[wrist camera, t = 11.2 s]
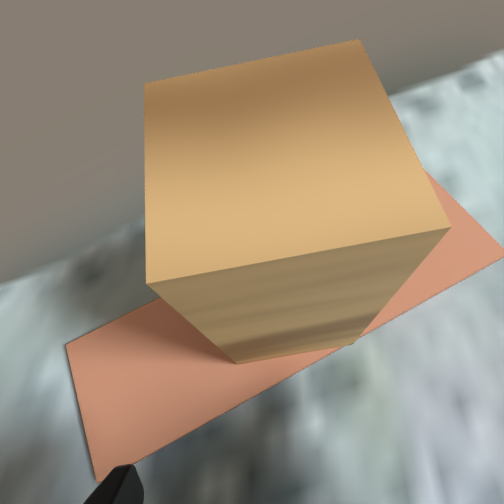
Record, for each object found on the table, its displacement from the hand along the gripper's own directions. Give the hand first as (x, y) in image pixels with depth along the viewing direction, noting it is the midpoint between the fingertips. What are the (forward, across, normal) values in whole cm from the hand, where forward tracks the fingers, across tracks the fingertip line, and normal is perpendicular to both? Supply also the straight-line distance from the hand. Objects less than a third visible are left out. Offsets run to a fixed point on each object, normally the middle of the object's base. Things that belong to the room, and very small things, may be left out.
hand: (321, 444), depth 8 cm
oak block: (+8, 0, 0) cm, 8 cm away
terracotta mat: (+8, 0, 0) cm, 8 cm away
